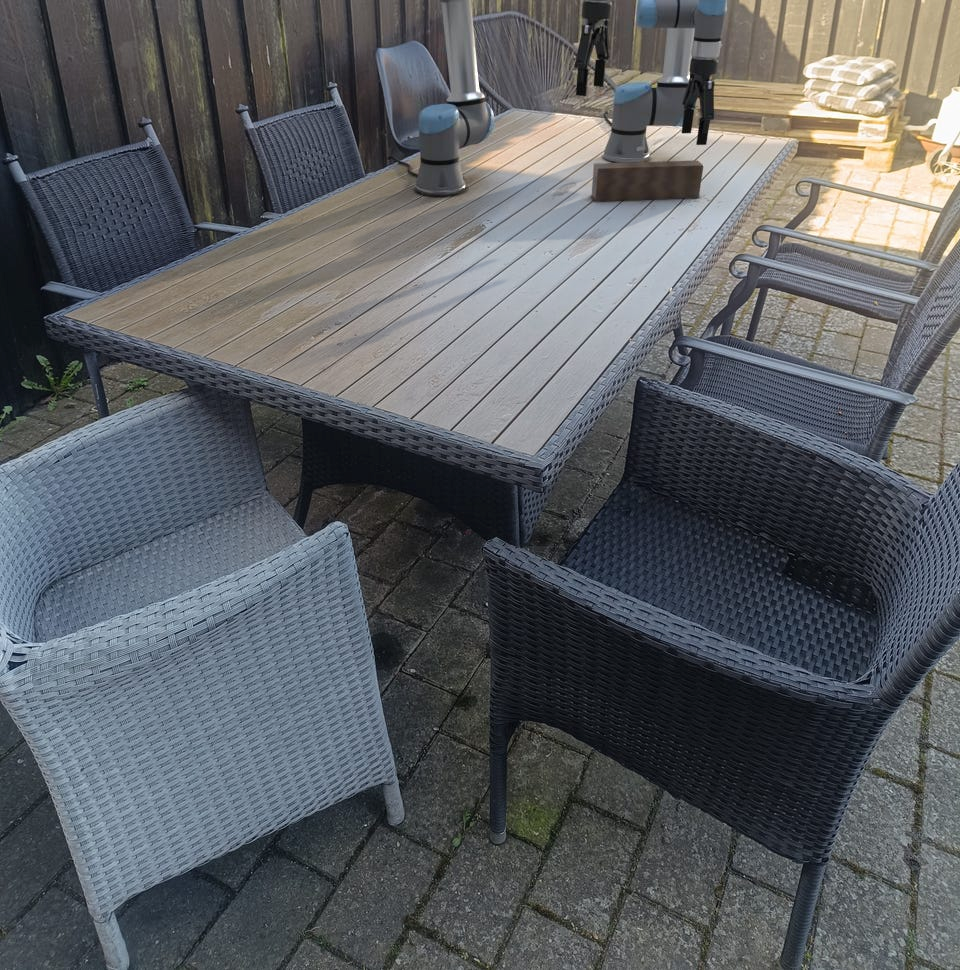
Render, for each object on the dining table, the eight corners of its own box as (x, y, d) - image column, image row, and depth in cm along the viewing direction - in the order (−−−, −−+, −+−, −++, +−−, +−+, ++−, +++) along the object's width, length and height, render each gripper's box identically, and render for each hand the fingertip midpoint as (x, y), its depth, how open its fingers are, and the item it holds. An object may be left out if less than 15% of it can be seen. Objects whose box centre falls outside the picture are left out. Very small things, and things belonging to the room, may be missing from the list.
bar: (595, 201, 249) (597, 168, 243) (591, 196, 253) (593, 163, 248) (698, 198, 252) (703, 165, 246) (693, 192, 256) (697, 160, 251)
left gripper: (594, 7, 204) (587, 101, 217) (626, -4, 222) (618, 83, 235) (565, 5, 207) (559, 98, 220) (600, -6, 225) (592, 81, 238)
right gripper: (734, 65, 222) (720, 149, 234) (703, 50, 242) (692, 128, 255) (706, 66, 221) (694, 150, 234) (677, 50, 241) (668, 128, 254)
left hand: (590, 90), depth 227 cm, fingers open, 13 cm apart
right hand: (693, 138), depth 244 cm, fingers open, 13 cm apart
